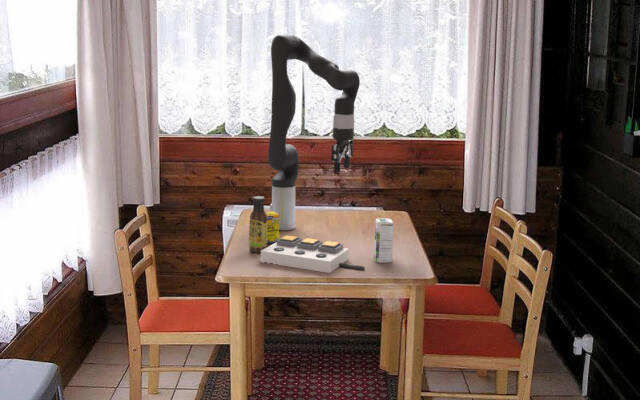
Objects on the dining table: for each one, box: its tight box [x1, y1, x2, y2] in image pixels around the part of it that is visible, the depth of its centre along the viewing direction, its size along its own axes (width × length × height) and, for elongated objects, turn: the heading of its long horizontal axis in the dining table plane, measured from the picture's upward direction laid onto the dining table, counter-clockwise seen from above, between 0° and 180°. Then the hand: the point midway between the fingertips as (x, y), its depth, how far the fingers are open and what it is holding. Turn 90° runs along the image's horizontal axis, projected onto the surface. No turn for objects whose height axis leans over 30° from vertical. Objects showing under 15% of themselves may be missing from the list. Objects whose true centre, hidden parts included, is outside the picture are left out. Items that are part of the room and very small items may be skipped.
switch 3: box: [322, 241, 341, 249], centre depth 275 cm, size 5×5×2 cm
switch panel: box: [260, 235, 366, 274], centre depth 273 cm, size 35×16×6 cm, turn 66°
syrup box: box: [373, 217, 395, 264], centre depth 276 cm, size 6×6×14 cm
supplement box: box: [265, 211, 280, 245], centre depth 296 cm, size 6×6×11 cm
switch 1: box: [279, 235, 299, 242], centre depth 281 cm, size 5×5×2 cm
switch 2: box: [301, 237, 320, 246], centre depth 278 cm, size 5×5×2 cm
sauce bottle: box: [248, 195, 268, 253], centre depth 284 cm, size 6×6×20 cm
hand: (341, 170), depth 290 cm, fingers open, 8 cm apart
